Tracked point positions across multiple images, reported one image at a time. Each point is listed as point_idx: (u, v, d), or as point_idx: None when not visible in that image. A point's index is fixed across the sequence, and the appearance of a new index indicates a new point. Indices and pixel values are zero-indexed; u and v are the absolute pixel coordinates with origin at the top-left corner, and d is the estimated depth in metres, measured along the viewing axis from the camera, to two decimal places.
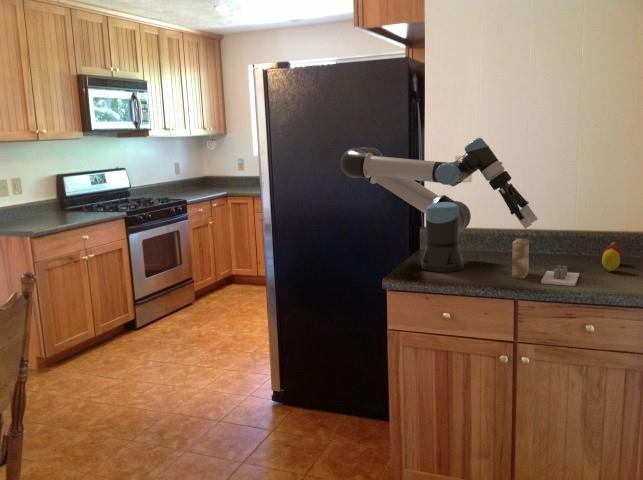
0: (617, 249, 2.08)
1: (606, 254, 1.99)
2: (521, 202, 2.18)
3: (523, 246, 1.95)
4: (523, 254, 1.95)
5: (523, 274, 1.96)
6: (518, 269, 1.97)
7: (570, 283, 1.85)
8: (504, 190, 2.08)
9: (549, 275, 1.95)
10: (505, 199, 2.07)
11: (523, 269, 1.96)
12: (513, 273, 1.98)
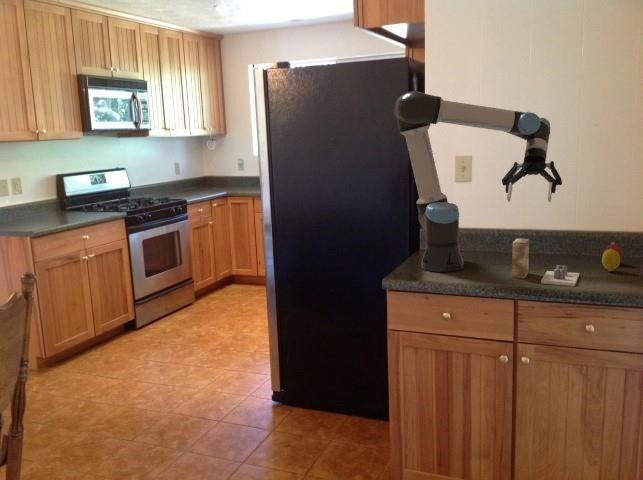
0: (617, 249, 2.08)
1: (606, 254, 1.99)
2: (514, 181, 2.13)
3: (523, 246, 1.95)
4: (523, 254, 1.95)
5: (523, 274, 1.96)
6: (518, 269, 1.97)
7: (570, 283, 1.85)
8: None
9: (549, 275, 1.95)
10: None
11: (523, 269, 1.96)
12: (513, 273, 1.98)
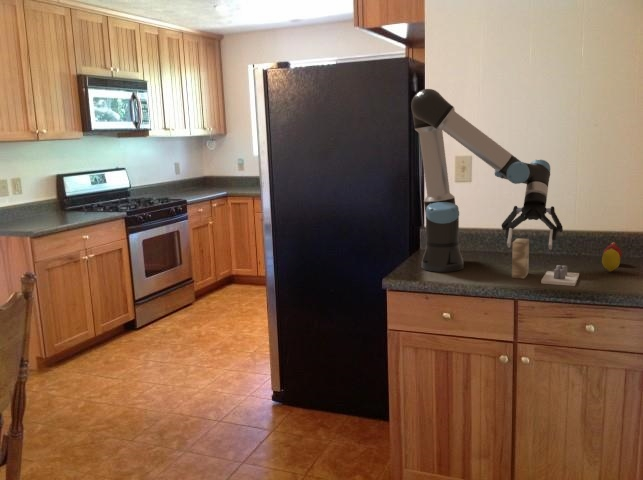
0: (617, 249, 2.08)
1: (606, 254, 1.99)
2: (514, 226, 2.10)
3: (523, 246, 1.95)
4: (523, 254, 1.95)
5: (523, 274, 1.96)
6: (518, 269, 1.97)
7: (570, 283, 1.85)
8: None
9: (549, 275, 1.95)
10: None
11: (523, 269, 1.96)
12: (513, 273, 1.98)
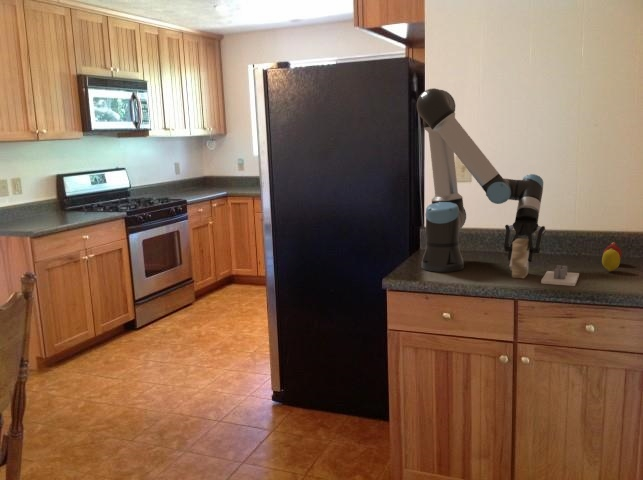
0: (617, 249, 2.08)
1: (606, 254, 1.99)
2: None
3: (523, 246, 1.95)
4: (523, 254, 1.95)
5: (523, 274, 1.96)
6: (518, 269, 1.97)
7: (570, 283, 1.85)
8: (543, 232, 2.02)
9: (549, 275, 1.95)
10: (541, 237, 2.00)
11: (523, 269, 1.96)
12: (513, 273, 1.98)
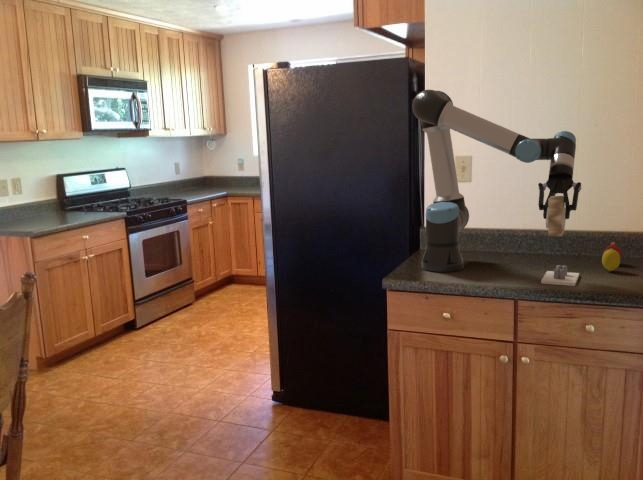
0: (617, 249, 2.08)
1: (606, 254, 1.99)
2: None
3: (560, 202, 1.86)
4: (560, 210, 1.86)
5: (560, 232, 1.87)
6: (554, 226, 1.88)
7: (570, 283, 1.85)
8: (579, 189, 1.93)
9: (549, 275, 1.95)
10: (577, 194, 1.91)
11: (560, 226, 1.87)
12: (549, 231, 1.89)
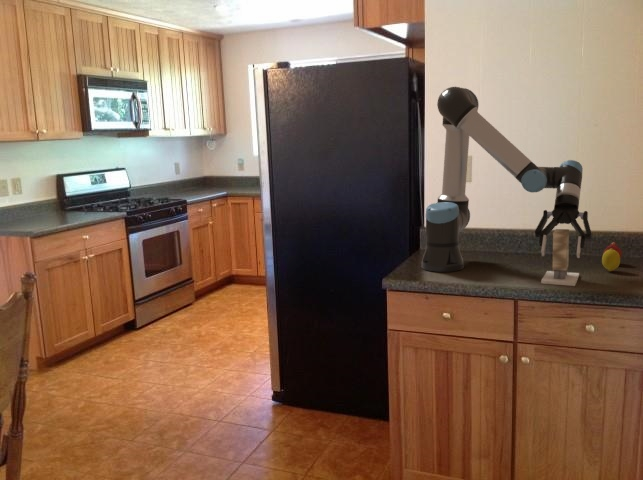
0: (617, 249, 2.08)
1: (606, 254, 1.99)
2: (548, 232, 1.95)
3: (564, 237, 1.86)
4: (564, 245, 1.87)
5: (564, 266, 1.88)
6: (559, 260, 1.88)
7: (570, 283, 1.85)
8: (587, 217, 1.93)
9: (549, 275, 1.95)
10: None
11: (564, 261, 1.87)
12: (554, 265, 1.89)
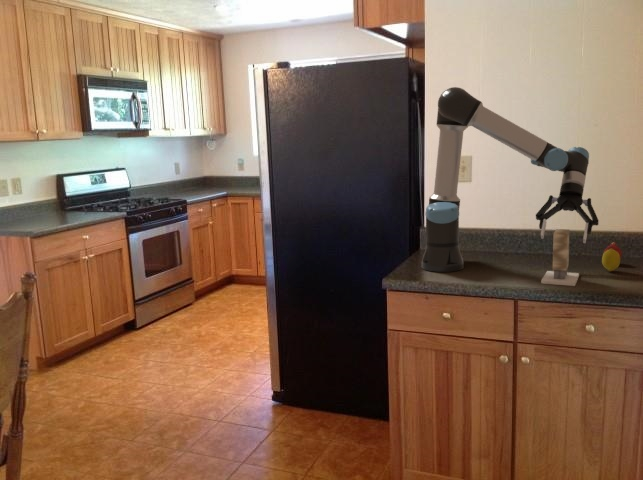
0: (617, 249, 2.08)
1: (606, 254, 1.99)
2: (548, 217, 2.08)
3: (565, 237, 1.86)
4: (565, 245, 1.87)
5: (564, 266, 1.88)
6: (559, 260, 1.88)
7: (570, 283, 1.85)
8: None
9: (549, 275, 1.95)
10: None
11: (565, 261, 1.87)
12: (554, 265, 1.89)
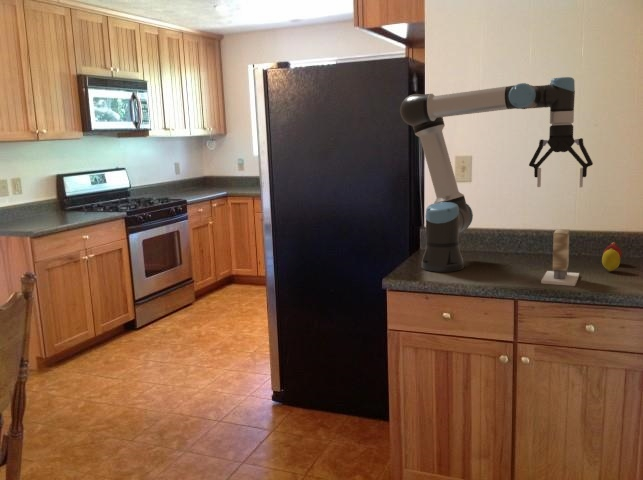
0: (617, 249, 2.08)
1: (606, 254, 1.99)
2: (542, 162, 2.06)
3: (565, 237, 1.86)
4: (565, 245, 1.87)
5: (564, 266, 1.88)
6: (559, 260, 1.88)
7: (570, 283, 1.85)
8: None
9: (549, 275, 1.95)
10: (586, 150, 1.98)
11: (565, 261, 1.87)
12: (554, 265, 1.89)
